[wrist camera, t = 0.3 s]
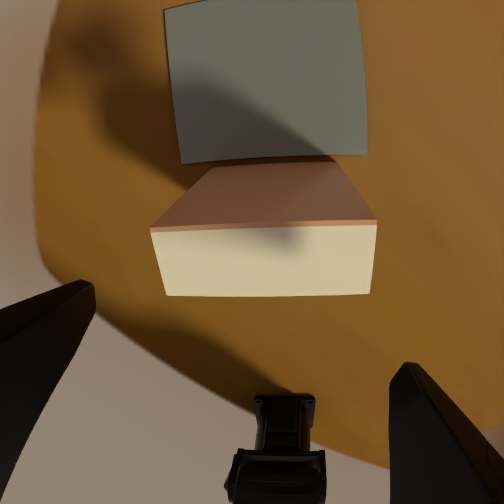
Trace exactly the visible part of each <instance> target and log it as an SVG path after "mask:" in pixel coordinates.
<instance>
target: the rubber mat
mask: <svg viewBox="0 0 504 504" xmlns="http://www.w3.org/2000/svg"><path fill="white" fill-rule="evenodd" d="M165 23H166V36H167V48H168V59H169V69H170V79H171V88H172V97H173V105H174V113H175V121H176V129H177V136H178V144H179V151H180V158H181V164H188V163H197V162H207V161H218V160H230V159H243V158H258V157H276V156H302V155H368V132H367V102H366V84H365V70H364V59H363V49H362V39H361V31H360V23H359V16H358V9H357V3H356V0H207V1H202V2H197V3H192V4H188V5H183V6H179V7H175V8H171V9H167V10H165Z"/></svg>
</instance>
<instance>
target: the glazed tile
mask: <svg viewBox="0 0 504 504" xmlns="http://www.w3.org/2000/svg"><path fill="white" fill-rule="evenodd" d="M376 228H377V219H376V217H375V216H374V214H373V213H372V211H371V210H370V208H369V207H368V205H367V204H366V202H365V201H364V199H363V198H362V196H361V195H360V194H359V192H358V191H357V189H356V188H355V186H354V185H353V184H352V182H351V181H350V179H349V178H348V177H347V175H346V174H345V173H344V171H343V170H342V169H341V167H340V166H339V165H338V163H337V162H293V163H270V164H252V165H237V166H224V167H213V168H212V169H210V170H209V171H208V172H207V173H206V174H205V175H204V176H203V177H202V178H201V179H199V180H198V181H197V182H196V183H195V184H194V185H193V186H192V187H191V188H190V189H189V190H188V191H187V192H186V193H185V194H183V195H182V196H181V197H180V198H179V199H178V200H177V201H176V202H175V203H174V204H173V205H172V206H171V207H170V208H169V209H168V210H167V211H166V212H165V213H164V214H163V215H162V216H161V217H160V218H159V219H158V220H157V221H156V222H155V223H154V224H153V225H152V226H151V227H150V232H151V236H152V240H153V244H154V248H155V252H156V256H157V260H158V264H159V268H160V272H161V276H162V280H163V283H164V287H165V291H166V294H167V295H170V296H315V295H347V294H369V291H370V284H371V276H372V268H373V259H374V250H375V240H376Z"/></svg>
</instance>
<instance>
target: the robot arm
mask: <svg viewBox="0 0 504 504" xmlns="http://www.w3.org/2000/svg"><path fill="white" fill-rule="evenodd" d="M95 311H96V299H95V288H94V285H93V284H92V283H91V282H88V281H85V280H82V279H80V280H77V281H74V282H71V283H68V284H66V285H63V286H60V287H58V288H55V289H52V290H49V291H47V292H44V293H42V294H39V295H36V296H34V297H31V298H28V299H26V300H23V301H20V302H18V303H15V304H13V305H10V306H7V307H5V308H2V309H0V501H1V498H2V496H3V493H4V491H5V488H6V486H7V484H8V481H9V479H10V477H11V474H12V472H13V470H14V468H15V465H16V464H15V463H17V461H18V458H19V456H20V454H21V452H22V450H23V448H24V446H25V444H26V442H27V440H28V438H29V435H30V434H31V432H32V430H33V428H34V426H35V424H36V422H37V420H38V418H39V416H40V414H41V413H42V411H43V408H44V407H45V405H46V403H47V402H48V400H49V398H50V396H51V394H52V393H53V391H54V389H55V387H56V386H57V384H58V382H59V380H60V379H61V377H62V375H63V373H64V372H65V370H66V368H67V367H68V365H69V363H70V361H71V360H72V358H73V357H74V355H75V353H76V351H77V348H78V347H79V345H80V342H81V340H82V338H83V336H84V334H85V332H86V330H87V328H88V326H89V324H90V322H91V320H92V318H93V316H94V314H95ZM254 407H255V413H256V419H257V426H258V427H257V434H256V442H255V449H254V450H245V449H242V448H238V451H237V454H235V455H234V458H233V463H232V467H231V470H230V472H229V474H228V477H227V479H226V481H225V483H224V488H225V490H226V491H227V492H228V499H229V502H230V503H233V504H325V499H326V488H327V481H326V480H327V478H326V461H325V450H319V451H310V428H312V426H313V419H314V411H315V398H314V397H265V396H257V397H255V398H254ZM389 453H390V504H504V459H503V458H502V457H501V456H500V454H499V453H498V452H497V451H496V450H495V449H494V448H493V446H492V445H491V444H490V443H489V442H488V441H487V440H486V438H485V437H484V436H483V435H482V434H481V432H480V431H479V430H478V429H477V428H476V427H475V426H474V424H473V423H472V422H471V421H470V420H469V419H468V418H467V416H466V415H465V414H464V413H463V412H462V411H461V410H460V409H459V407H458V406H457V405H456V404H455V403H454V402H453V401H452V400H451V399H450V398H449V396H448V395H447V394H446V393H445V392H444V391H443V390H442V389H441V388H440V387H439V385H438V384H437V383H436V382H435V381H434V380H433V379H432V378H431V377H430V376H429V375H428V374H427V373H426V371H425V370H424V369H423V368H422V367H421V366H420V365H419V364H417V363H413V362H405V363H404V364H403V365H402V366H401V368H400V369H399V370H398V372H397V373H396V374H395V376H394V377H393V378H392V380H391V382H390V386H389Z"/></svg>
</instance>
